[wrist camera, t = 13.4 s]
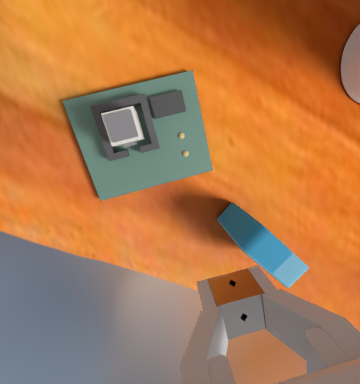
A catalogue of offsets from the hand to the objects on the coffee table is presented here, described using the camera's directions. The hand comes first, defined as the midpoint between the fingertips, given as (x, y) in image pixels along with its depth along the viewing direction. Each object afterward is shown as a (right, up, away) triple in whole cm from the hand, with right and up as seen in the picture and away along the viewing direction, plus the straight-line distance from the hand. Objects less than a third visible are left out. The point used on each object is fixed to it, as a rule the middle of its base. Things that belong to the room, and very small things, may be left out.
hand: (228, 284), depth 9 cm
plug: (-10, +14, +22) cm, 28 cm away
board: (-8, +13, +24) cm, 28 cm away
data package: (+10, -2, +31) cm, 32 cm away
